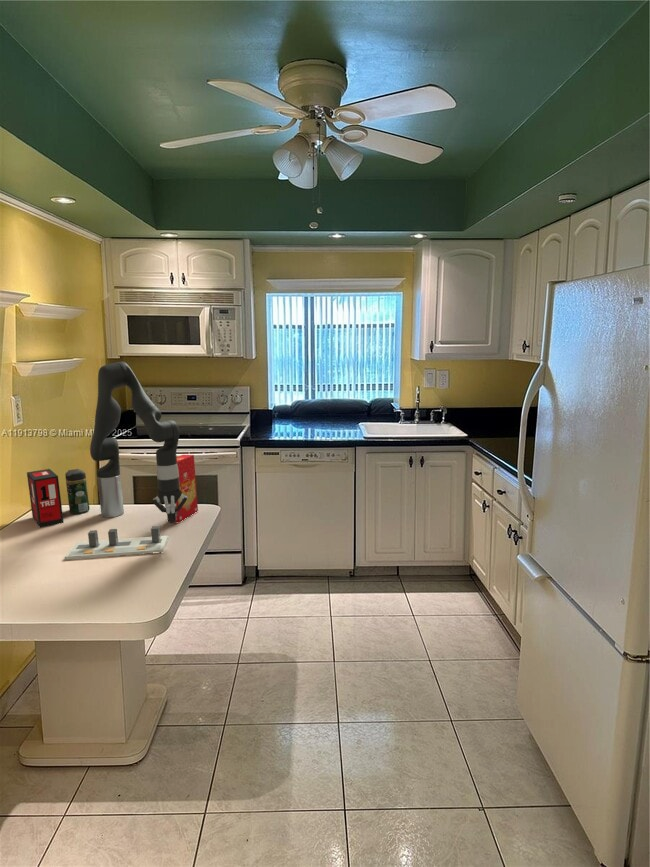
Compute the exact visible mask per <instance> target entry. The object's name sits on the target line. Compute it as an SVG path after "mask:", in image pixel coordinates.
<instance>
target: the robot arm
mask: <svg viewBox="0 0 650 867" xmlns="http://www.w3.org/2000/svg"><path fill="white" fill-rule="evenodd" d="M122 387H127V388H129V389H130V392H131V406H132V409H133V411H134V413H135V414H136V415H137V416H138V418H139V419H140V420H141V421H142V423H143V425H144V427H145V429H146V431H147V435H148V437H149V438H150V439H151V440H152V441H153V442H155V443H163V445H162V446H161V447H159V448H158V449H157V450H156V451H155V457H156V458H155V459H156V460H155V461H156V477H157V478H156V479H157V480H156V481H157V488H158V490H157V491H158V492H157V496H156V497H153V499H152V500H151V503H152V504H153V505H154V506H155V507H156V508H158V510H159V511H160V512H162V513H166V516H167V522H168V523H170V524H174V521H176V512H177V511H179V510H180V509H181V508H182V506H183V505H184V503H185V502H186V500H187V498H188V496H184V495H183V494H182V492H181V490H180V483H179V471H178V466H177V457H178V456H177V450H178V444H179V441H180V440H179V439H180V428H179V425H178V423H177V422H176V421H174V420H172V419H171V420H169V419H168V420H164V421H163V420H162V421H160V420H161V418H162V412H161V410H160V409H159V408H158V406H156V404H154V402H153V401H152V400H151V398H150V397H149V396H148V395H147V393H146V391H145V390H144V388H143V386H142V385H141V383H140V382H139V380H138V378H137V377H136V374H135V373H134V371H133V370H132V369H131V366H129V364H127V363H126V362H125V361H117V362H114V363H109V364H106V365H103V366H101V367H100V368H99V370H98V375H97V400H96V401H97V402H96V409H95V415H94V416H95V417H94V428H93V433H92V437H91V440H90V445H89V446H90V447H89V452H90V456H91V459H92V460H93V461H95V462H103V461H107V463H106V464H105V465H103V466H101V467H99V468H98V469H97V470H96V477H97V478H96V480H97V487H98V488H97V489H98V496H99V505H100V506H99V507H100V516H101V517H102V516H103V517H102V518H115V517H119V516H121V515H123V514H124V513H125V509H124V499H123V489H122V479H121V478H122V477H121V469H120V468H121V466H120V465H121V464H120V448H119V443H118V440H117V438H116V437H109V435H111V433H113V432H114V431H115V430H116V429H117V427H118V426H119V424H120V420H121V415H122V414H121V413H122V409H121V406H120V404H119V403H118V401H117V400H115V398H114V397H113V396H112V393H113V391H114V390H115V389H120V388H122ZM180 497H181V499H180V500H181V502H180V504H179V505H178V507H176V502H177V501H178V499H179V498H180ZM161 502H162V503H163V504H164V505H163V504H162V503H161ZM170 504H171V508H170Z"/></svg>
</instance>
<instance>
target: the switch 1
mask: <svg viewBox="0 0 650 867" xmlns="http://www.w3.org/2000/svg"><path fill="white" fill-rule="evenodd" d="M87 536H88V537H87V538H88V541H89V547H93V546H97V545H98V543H99V542H98V540H99V534H98V530H97V529H92V530H90V531H89V532H88V533H87Z"/></svg>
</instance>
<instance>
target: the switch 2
mask: <svg viewBox="0 0 650 867" xmlns="http://www.w3.org/2000/svg"><path fill="white" fill-rule="evenodd" d="M160 530H161V529H160V525H153V526H152V527H151V528H150V531H151V532H150V533H151V537H152V542H159V541H160V536H161V535H160V534H161V532H160Z"/></svg>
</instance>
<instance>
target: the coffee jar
mask: <svg viewBox="0 0 650 867" xmlns="http://www.w3.org/2000/svg"><path fill="white" fill-rule="evenodd" d="M64 478H65V485H66V493H67V500H68V507H69V512H71V514H73V513H74V515H75V514H79V513H80V514H84V513H86V512H88V511H90V501H89V493H88V485H87V484H88V483H87V476H86V472H85V471H84V470H82V469H79V468H75V469H74V468H73V469H69V470H68V471H66V472H65V477H64ZM83 512H84V513H83Z"/></svg>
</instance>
